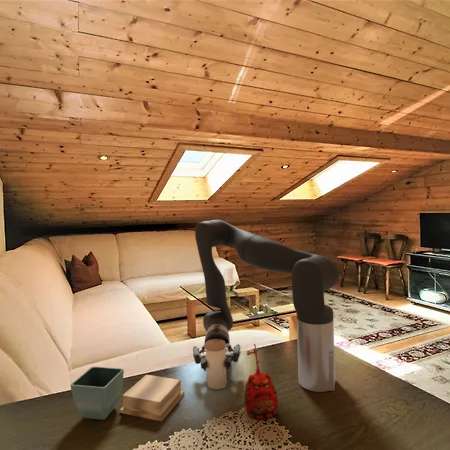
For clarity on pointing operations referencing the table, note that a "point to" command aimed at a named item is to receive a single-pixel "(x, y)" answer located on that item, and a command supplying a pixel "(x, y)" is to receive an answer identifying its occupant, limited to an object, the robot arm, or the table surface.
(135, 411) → the oak plinth
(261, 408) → the red clay folk toy
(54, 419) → the table surface
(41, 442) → the table surface
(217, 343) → the cream canister
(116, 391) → the flower pot
